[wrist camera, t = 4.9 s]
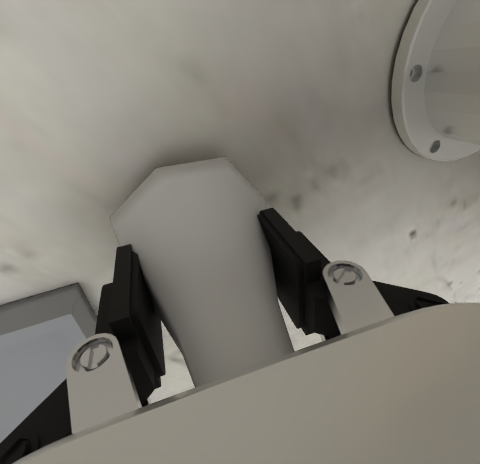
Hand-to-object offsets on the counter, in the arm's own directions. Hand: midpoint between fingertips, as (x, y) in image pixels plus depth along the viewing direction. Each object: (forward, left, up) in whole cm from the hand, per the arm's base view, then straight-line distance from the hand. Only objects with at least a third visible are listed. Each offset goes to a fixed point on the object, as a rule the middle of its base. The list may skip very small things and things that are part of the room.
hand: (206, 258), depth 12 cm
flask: (0, 0, -2) cm, 2 cm away
